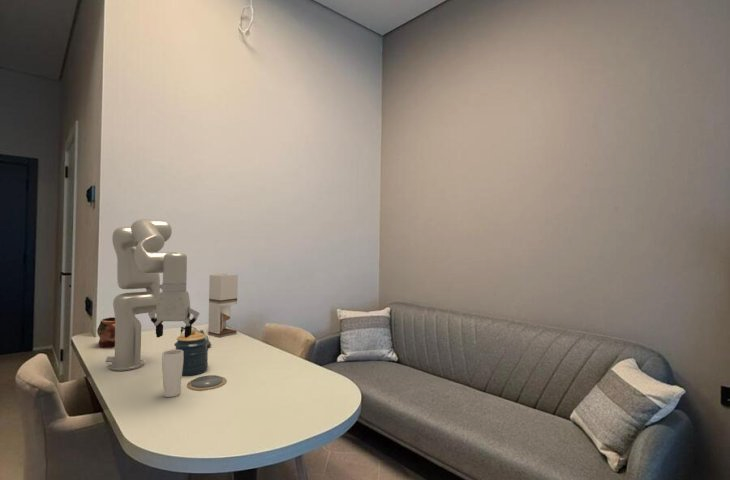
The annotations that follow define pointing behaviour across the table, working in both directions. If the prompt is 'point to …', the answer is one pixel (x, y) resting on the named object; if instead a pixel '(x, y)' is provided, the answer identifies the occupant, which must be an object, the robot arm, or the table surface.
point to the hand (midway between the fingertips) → (173, 336)
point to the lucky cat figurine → (197, 331)
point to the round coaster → (206, 382)
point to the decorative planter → (107, 332)
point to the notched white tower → (221, 303)
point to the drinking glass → (172, 372)
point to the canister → (193, 353)
